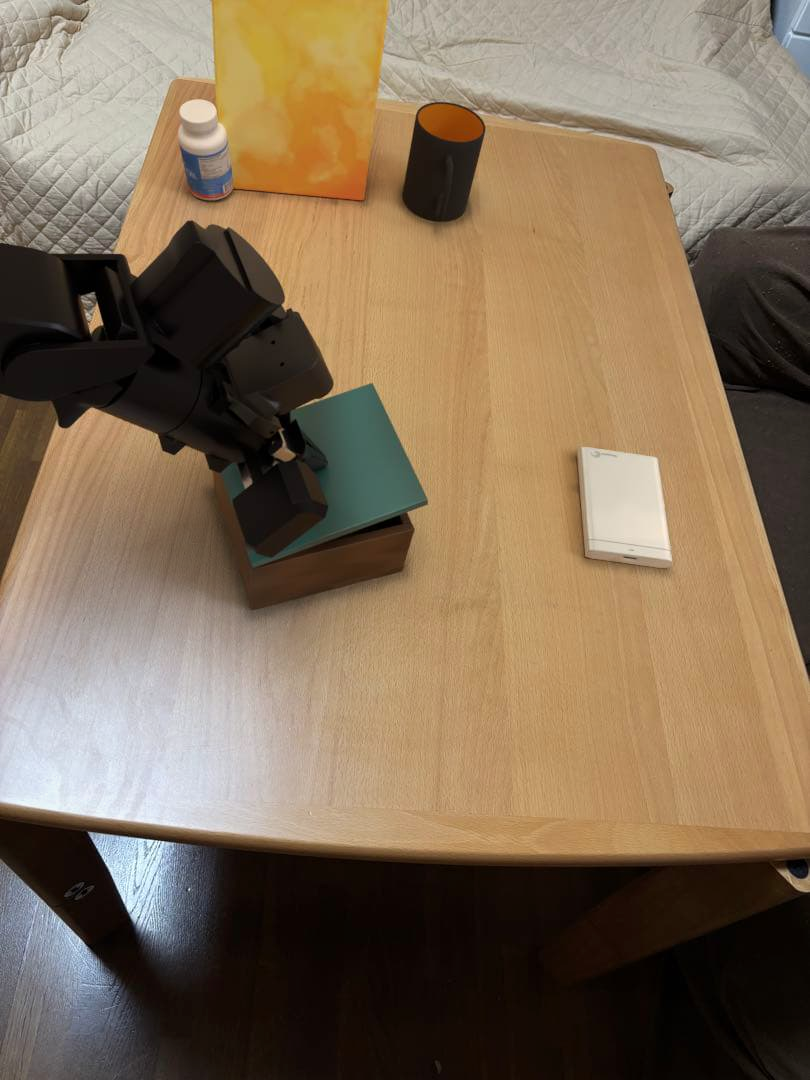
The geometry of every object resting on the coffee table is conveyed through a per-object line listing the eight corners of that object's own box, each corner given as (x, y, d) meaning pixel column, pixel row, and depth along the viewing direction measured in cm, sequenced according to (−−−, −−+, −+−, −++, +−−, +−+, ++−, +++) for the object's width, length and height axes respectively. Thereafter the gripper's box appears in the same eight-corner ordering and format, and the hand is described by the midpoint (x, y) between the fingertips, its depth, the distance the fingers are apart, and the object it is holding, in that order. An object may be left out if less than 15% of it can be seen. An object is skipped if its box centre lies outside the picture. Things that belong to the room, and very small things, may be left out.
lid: (373, 388, 68) (372, 382, 67) (428, 504, 62) (428, 499, 62) (211, 443, 66) (209, 437, 66) (253, 568, 61) (250, 563, 60)
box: (355, 462, 76) (363, 415, 71) (402, 571, 71) (415, 529, 65) (214, 491, 72) (210, 443, 66) (252, 610, 66) (251, 569, 61)
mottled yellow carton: (359, 143, 105) (383, -69, 85) (363, 201, 98) (391, -14, 79) (223, 129, 102) (216, -95, 82) (219, 188, 95) (209, -40, 76)
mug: (402, 236, 96) (417, 156, 87) (401, 177, 103) (415, 96, 94) (469, 244, 97) (490, 166, 89) (464, 185, 104) (483, 107, 95)
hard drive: (581, 445, 80) (590, 548, 73) (659, 456, 81) (675, 560, 74) (575, 455, 81) (584, 558, 75) (652, 466, 82) (667, 569, 75)
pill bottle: (182, 177, 95) (166, 99, 87) (226, 167, 97) (214, 89, 88) (196, 206, 93) (180, 130, 84) (240, 196, 94) (229, 119, 86)
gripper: (305, 426, 44) (446, 499, 56) (218, 213, 52) (358, 318, 65) (172, 536, 48) (332, 581, 60) (112, 322, 56) (263, 401, 69)
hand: (322, 463), depth 64 cm, fingers closed, pressing on lid
